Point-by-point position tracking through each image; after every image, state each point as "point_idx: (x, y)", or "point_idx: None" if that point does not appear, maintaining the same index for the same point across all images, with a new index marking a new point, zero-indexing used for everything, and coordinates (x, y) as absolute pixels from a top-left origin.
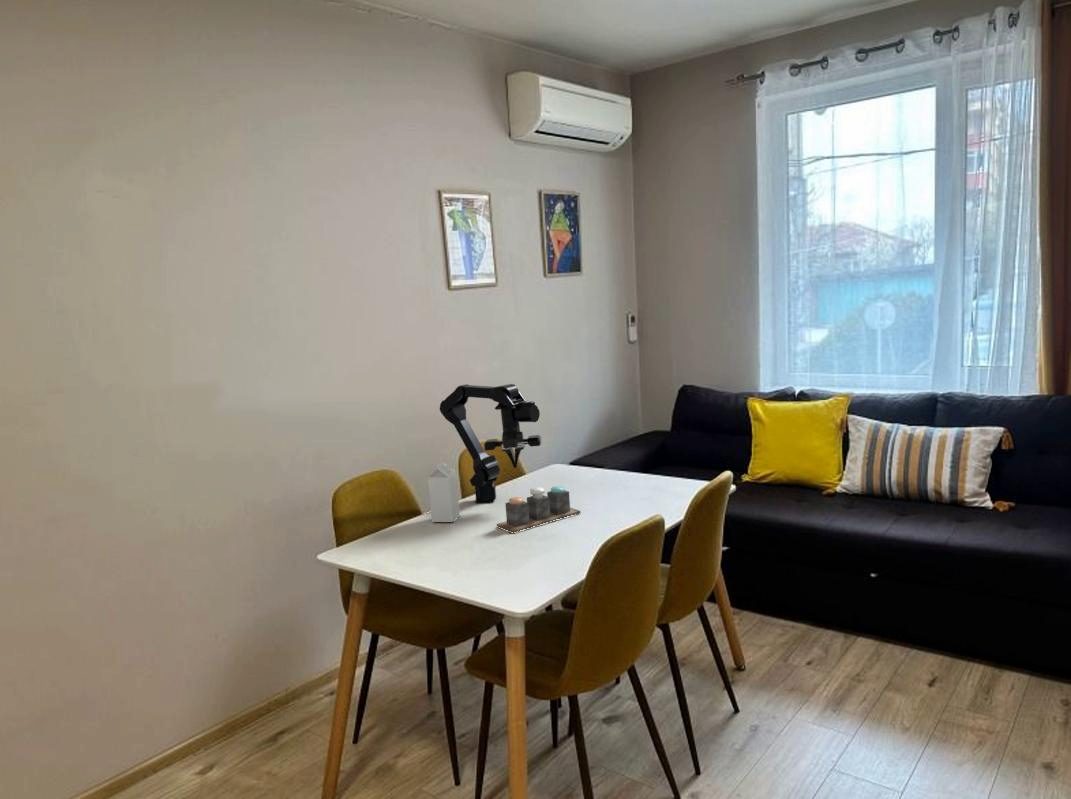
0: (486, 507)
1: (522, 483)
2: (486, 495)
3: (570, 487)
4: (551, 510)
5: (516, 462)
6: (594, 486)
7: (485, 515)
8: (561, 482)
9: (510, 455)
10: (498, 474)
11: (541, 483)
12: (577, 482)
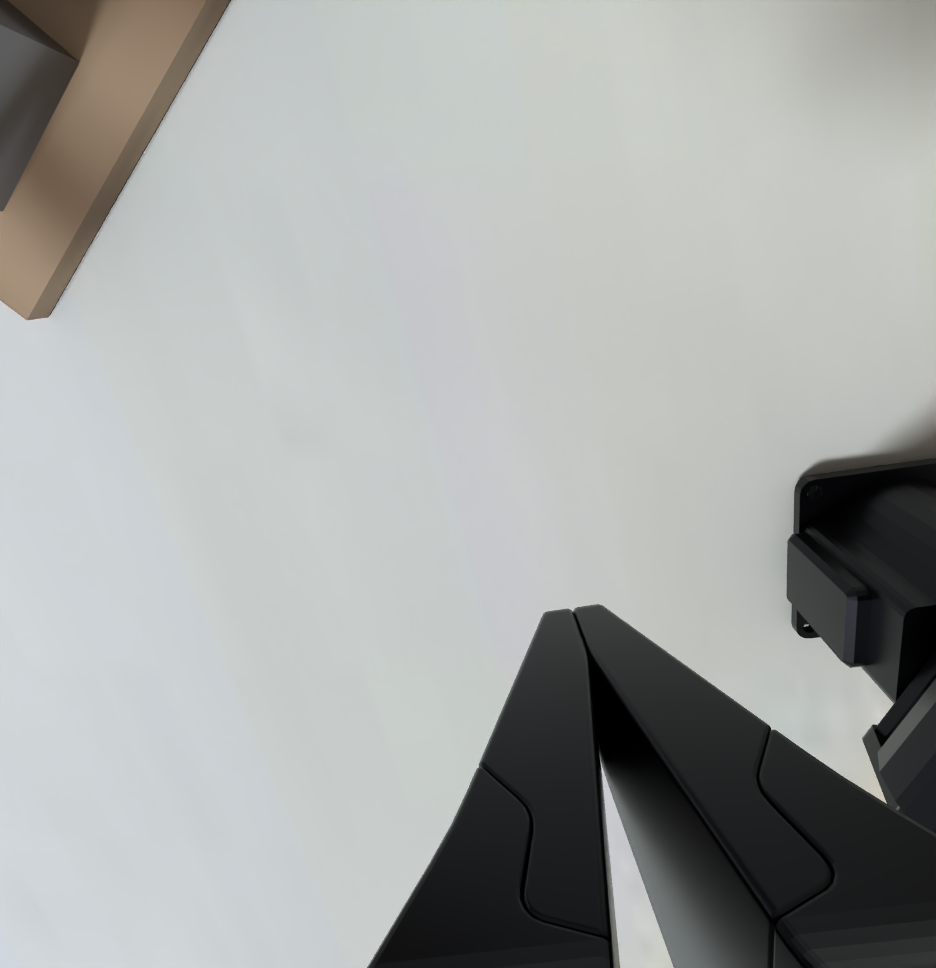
0: (851, 328)
1: (620, 943)
2: (907, 510)
3: (222, 851)
4: (2, 3)
5: (541, 677)
6: (54, 864)
7: (832, 7)
8: (331, 949)
9: (832, 854)
10: (882, 757)
11: None
12: (215, 944)
